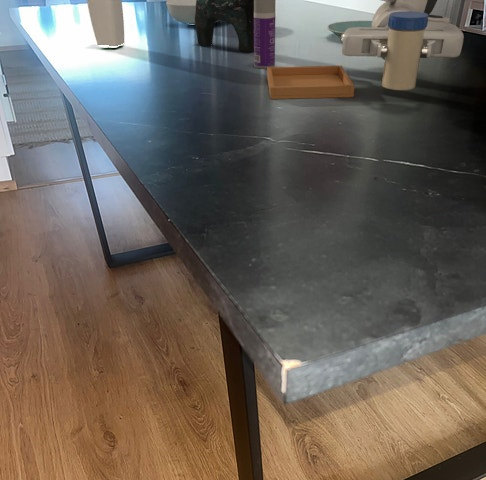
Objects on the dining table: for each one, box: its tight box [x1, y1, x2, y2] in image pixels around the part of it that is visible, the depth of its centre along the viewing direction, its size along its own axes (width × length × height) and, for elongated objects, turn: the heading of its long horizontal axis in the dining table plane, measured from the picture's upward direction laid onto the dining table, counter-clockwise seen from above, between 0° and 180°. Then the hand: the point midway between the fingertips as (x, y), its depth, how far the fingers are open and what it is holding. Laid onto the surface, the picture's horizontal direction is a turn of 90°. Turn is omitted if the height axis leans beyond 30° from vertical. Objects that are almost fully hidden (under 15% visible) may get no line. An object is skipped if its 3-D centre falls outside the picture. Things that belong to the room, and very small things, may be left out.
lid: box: [388, 11, 428, 30], centre depth 84 cm, size 6×6×2 cm
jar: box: [381, 28, 425, 91], centre depth 87 cm, size 6×6×10 cm
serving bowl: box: [165, 0, 222, 24], centre depth 165 cm, size 21×21×7 cm
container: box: [253, 0, 276, 70], centre depth 115 cm, size 5×5×15 cm
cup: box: [86, 0, 125, 46], centre depth 136 cm, size 7×7×15 cm
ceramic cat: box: [194, 0, 254, 54], centre depth 130 cm, size 20×6×20 cm, turn 51°
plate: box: [326, 20, 372, 39], centre depth 142 cm, size 22×22×3 cm
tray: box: [266, 65, 355, 100], centre depth 104 cm, size 16×16×2 cm
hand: (404, 52), depth 86 cm, fingers closed on jar, 5 cm apart
